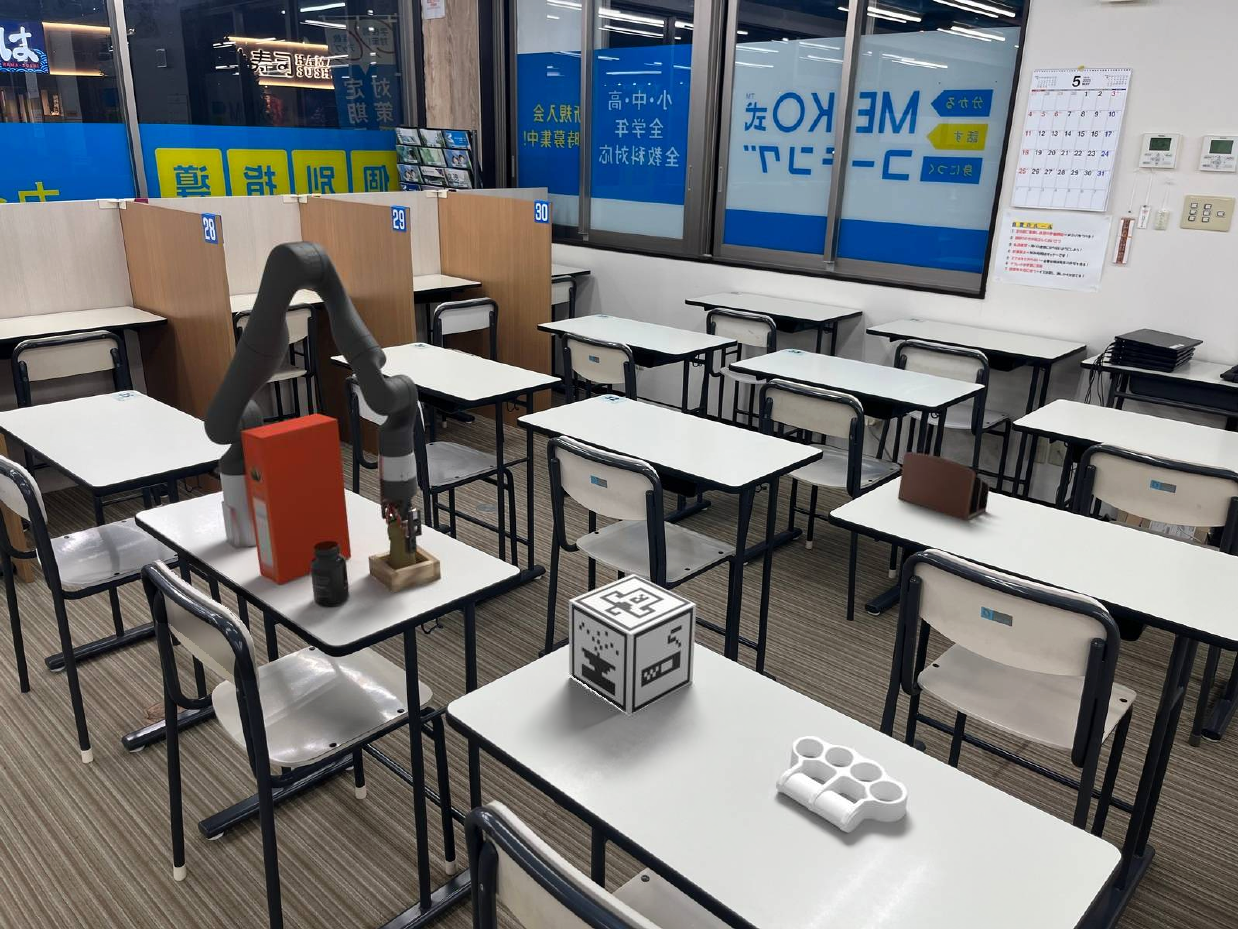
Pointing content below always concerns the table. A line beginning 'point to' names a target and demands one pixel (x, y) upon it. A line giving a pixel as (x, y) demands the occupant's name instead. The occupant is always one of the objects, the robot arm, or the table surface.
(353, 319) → the robot arm
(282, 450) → the file binder
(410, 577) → the oak holder
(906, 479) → the letter holder
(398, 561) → the olive knobbed tapered cylinder
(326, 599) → the supplement bottle
